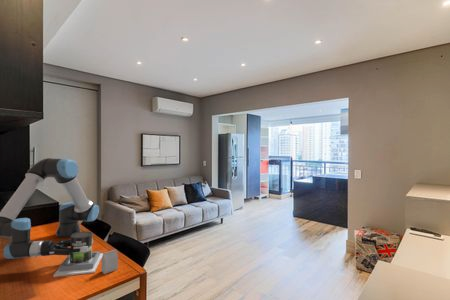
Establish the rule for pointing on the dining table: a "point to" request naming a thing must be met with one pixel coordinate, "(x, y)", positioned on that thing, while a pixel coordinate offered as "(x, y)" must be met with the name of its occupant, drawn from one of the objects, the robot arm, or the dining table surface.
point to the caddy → (79, 266)
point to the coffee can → (80, 241)
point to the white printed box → (109, 261)
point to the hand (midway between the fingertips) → (90, 245)
